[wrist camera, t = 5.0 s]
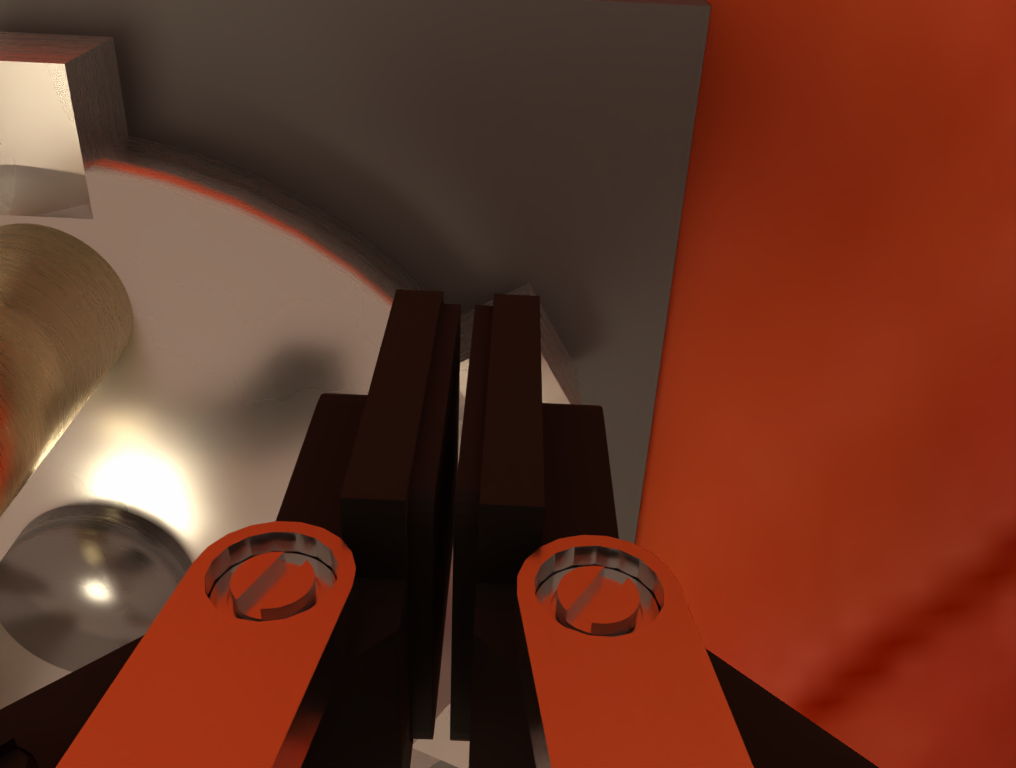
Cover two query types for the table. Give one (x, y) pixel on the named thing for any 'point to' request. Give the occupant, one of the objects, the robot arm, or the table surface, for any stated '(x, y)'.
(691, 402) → the table surface
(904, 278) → the table surface
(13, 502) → the sprocket
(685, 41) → the sprocket base
